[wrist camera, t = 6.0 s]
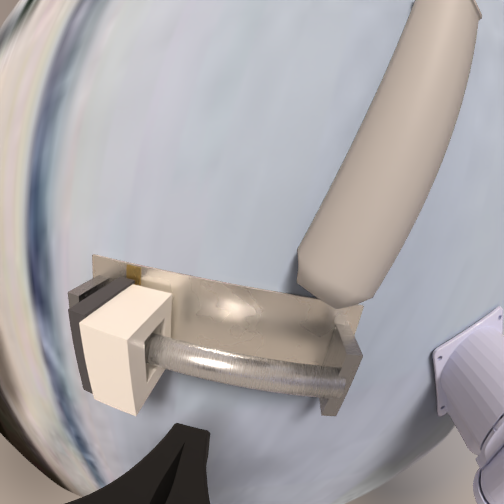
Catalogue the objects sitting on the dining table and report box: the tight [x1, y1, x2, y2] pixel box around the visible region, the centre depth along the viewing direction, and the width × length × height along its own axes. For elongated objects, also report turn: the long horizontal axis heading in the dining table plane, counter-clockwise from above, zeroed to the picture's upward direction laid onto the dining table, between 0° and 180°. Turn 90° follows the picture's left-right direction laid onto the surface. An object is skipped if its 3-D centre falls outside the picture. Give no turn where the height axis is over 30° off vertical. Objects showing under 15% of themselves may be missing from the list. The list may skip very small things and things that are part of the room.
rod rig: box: [68, 254, 364, 416], centre depth 17 cm, size 20×8×5 cm, turn 81°
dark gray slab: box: [68, 277, 135, 394], centre depth 16 cm, size 1×6×6 cm, turn 171°
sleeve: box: [79, 284, 172, 416], centre depth 15 cm, size 3×6×6 cm, turn 171°
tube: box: [297, 0, 482, 309], centre depth 12 cm, size 5×5×25 cm
